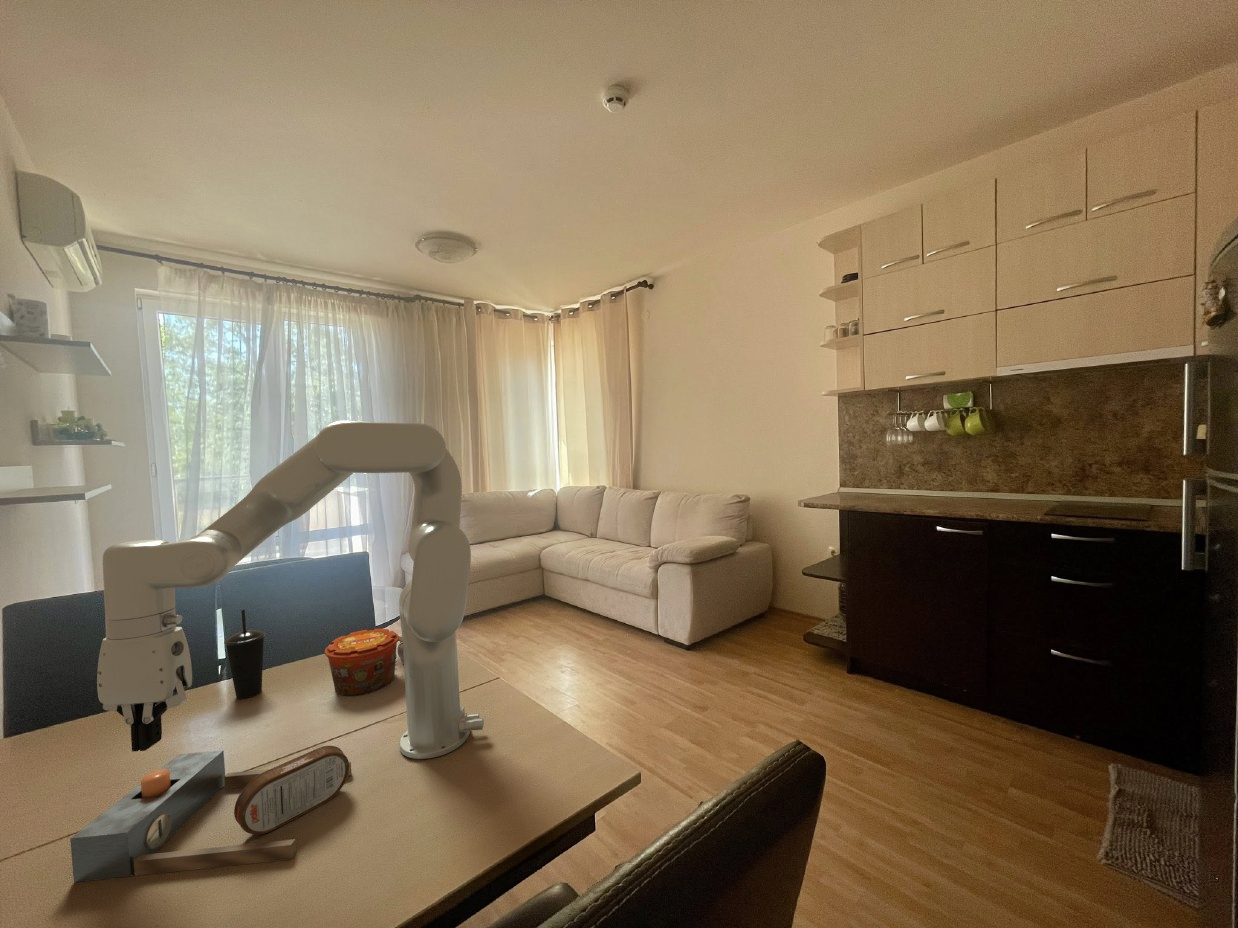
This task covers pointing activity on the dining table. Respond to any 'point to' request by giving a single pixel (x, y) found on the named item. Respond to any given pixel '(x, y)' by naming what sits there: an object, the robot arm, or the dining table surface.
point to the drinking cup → (246, 660)
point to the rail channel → (219, 854)
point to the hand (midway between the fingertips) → (147, 745)
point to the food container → (362, 661)
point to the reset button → (155, 783)
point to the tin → (291, 790)
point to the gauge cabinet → (146, 818)
